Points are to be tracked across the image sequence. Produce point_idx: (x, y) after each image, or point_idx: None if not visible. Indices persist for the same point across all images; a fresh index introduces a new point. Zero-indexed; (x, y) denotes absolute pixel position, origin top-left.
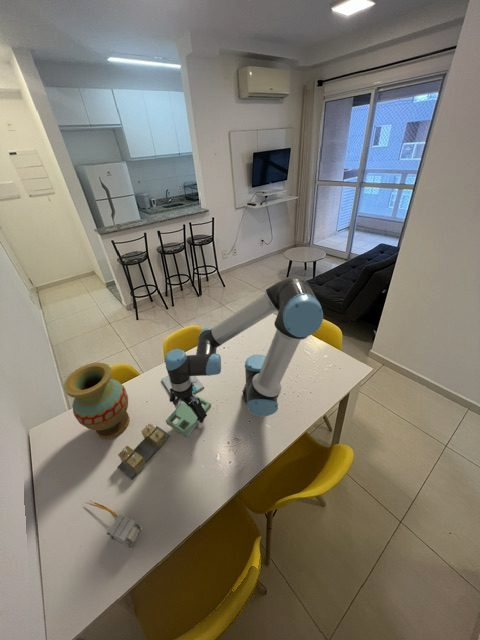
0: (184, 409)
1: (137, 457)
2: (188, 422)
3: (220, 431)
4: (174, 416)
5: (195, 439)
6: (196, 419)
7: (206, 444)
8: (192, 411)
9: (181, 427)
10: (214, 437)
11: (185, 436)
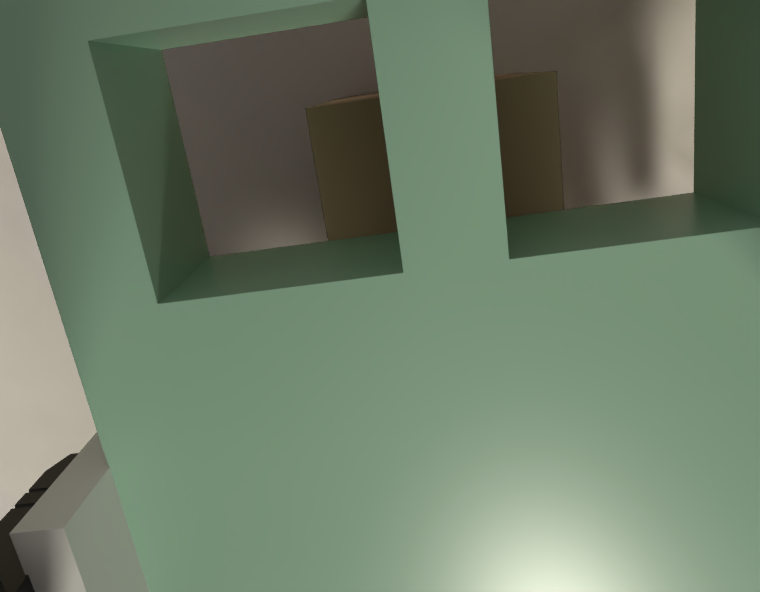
0: (637, 487)
1: None
2: (225, 290)
3: (36, 467)
4: (749, 167)
5: (190, 170)
6: (131, 474)
7: (6, 221)
8: (405, 562)
9: (375, 97)
10: (18, 363)
11: (348, 97)
